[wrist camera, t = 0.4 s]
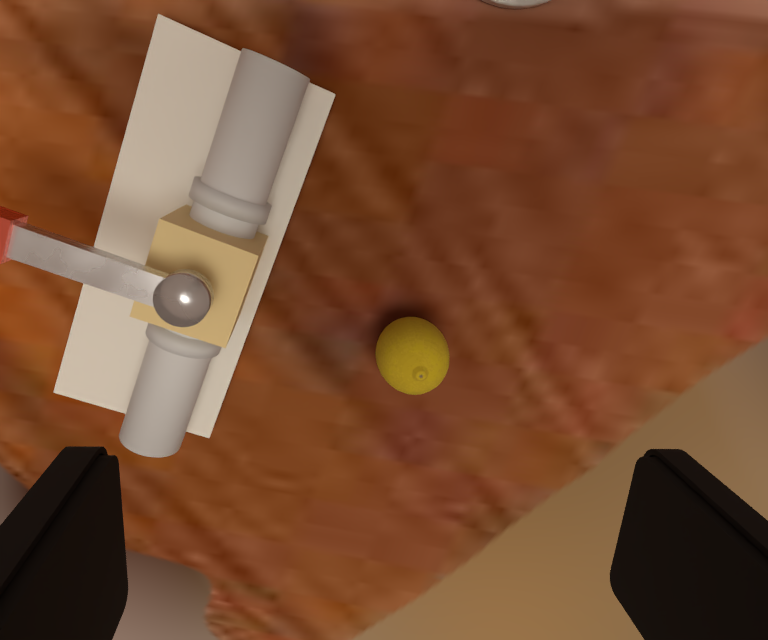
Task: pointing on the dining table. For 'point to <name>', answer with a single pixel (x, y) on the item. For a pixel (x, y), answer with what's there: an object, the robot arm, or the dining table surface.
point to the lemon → (412, 355)
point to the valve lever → (107, 270)
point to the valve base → (163, 191)
